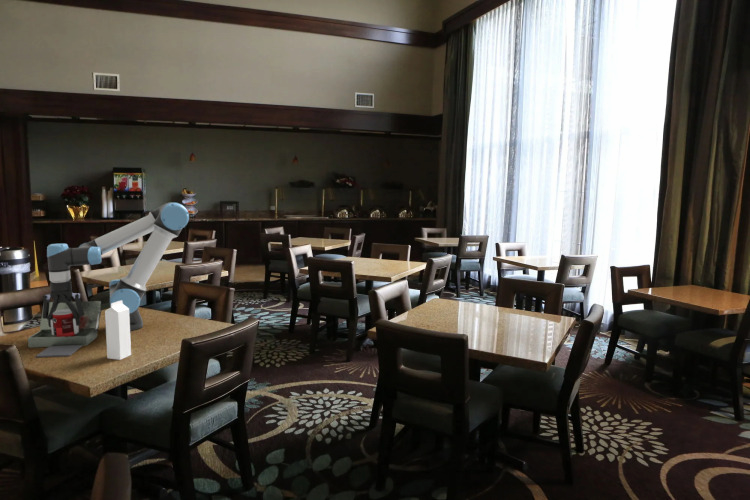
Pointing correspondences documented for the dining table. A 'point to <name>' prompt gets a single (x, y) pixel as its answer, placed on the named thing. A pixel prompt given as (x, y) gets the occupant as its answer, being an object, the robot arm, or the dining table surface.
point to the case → (86, 327)
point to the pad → (59, 351)
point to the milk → (118, 331)
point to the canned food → (63, 323)
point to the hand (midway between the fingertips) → (65, 333)
